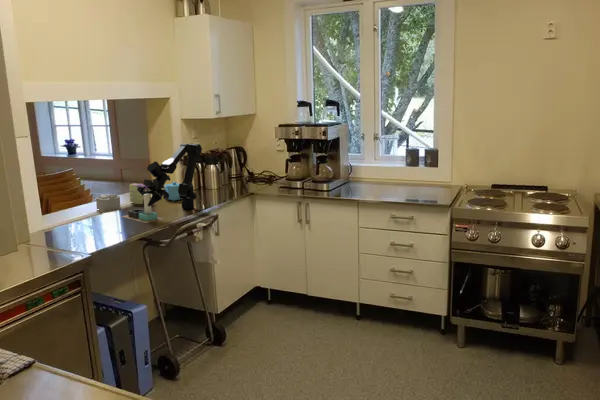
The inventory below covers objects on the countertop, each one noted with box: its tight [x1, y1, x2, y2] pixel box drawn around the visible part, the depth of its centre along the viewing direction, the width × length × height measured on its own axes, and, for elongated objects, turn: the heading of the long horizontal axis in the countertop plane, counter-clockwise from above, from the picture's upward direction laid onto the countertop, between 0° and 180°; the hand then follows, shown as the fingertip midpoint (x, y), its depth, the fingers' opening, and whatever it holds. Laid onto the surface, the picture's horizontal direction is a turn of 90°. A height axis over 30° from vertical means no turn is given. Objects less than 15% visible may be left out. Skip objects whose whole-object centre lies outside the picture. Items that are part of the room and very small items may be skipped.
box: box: [128, 182, 149, 205], centre depth 317 cm, size 10×6×12 cm, turn 74°
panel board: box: [120, 208, 165, 224], centre depth 279 cm, size 22×12×4 cm, turn 54°
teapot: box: [163, 181, 182, 202], centre depth 330 cm, size 12×18×12 cm
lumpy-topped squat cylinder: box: [95, 193, 121, 212], centre depth 301 cm, size 10×13×9 cm
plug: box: [143, 194, 152, 215], centre depth 275 cm, size 4×4×12 cm
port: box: [139, 211, 158, 221], centre depth 276 cm, size 7×7×3 cm
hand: (145, 205), depth 274 cm, fingers closed on plug, 3 cm apart
